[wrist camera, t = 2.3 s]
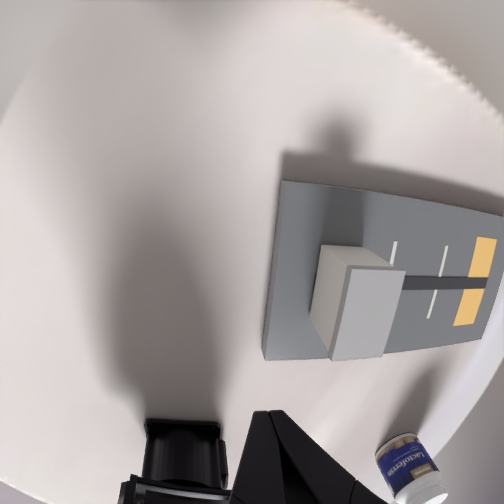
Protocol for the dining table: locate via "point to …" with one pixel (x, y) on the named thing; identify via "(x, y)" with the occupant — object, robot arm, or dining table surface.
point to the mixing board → (391, 250)
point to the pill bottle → (410, 471)
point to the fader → (354, 301)
